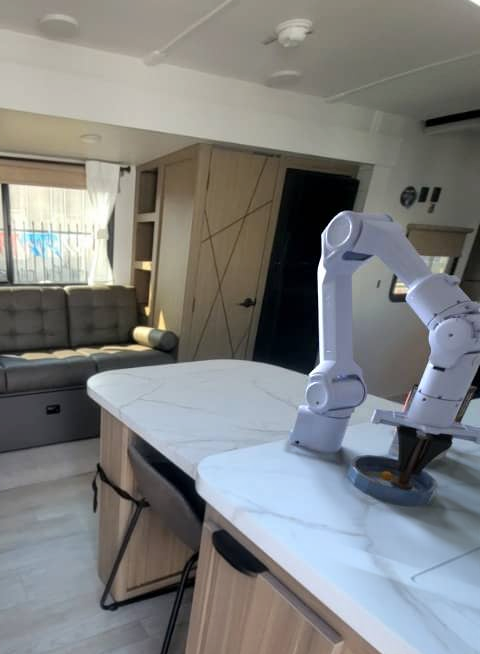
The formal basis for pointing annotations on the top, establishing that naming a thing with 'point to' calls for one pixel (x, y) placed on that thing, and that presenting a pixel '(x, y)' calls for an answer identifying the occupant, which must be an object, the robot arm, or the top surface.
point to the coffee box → (395, 442)
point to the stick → (410, 466)
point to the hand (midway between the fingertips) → (407, 470)
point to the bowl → (387, 493)
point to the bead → (386, 475)
